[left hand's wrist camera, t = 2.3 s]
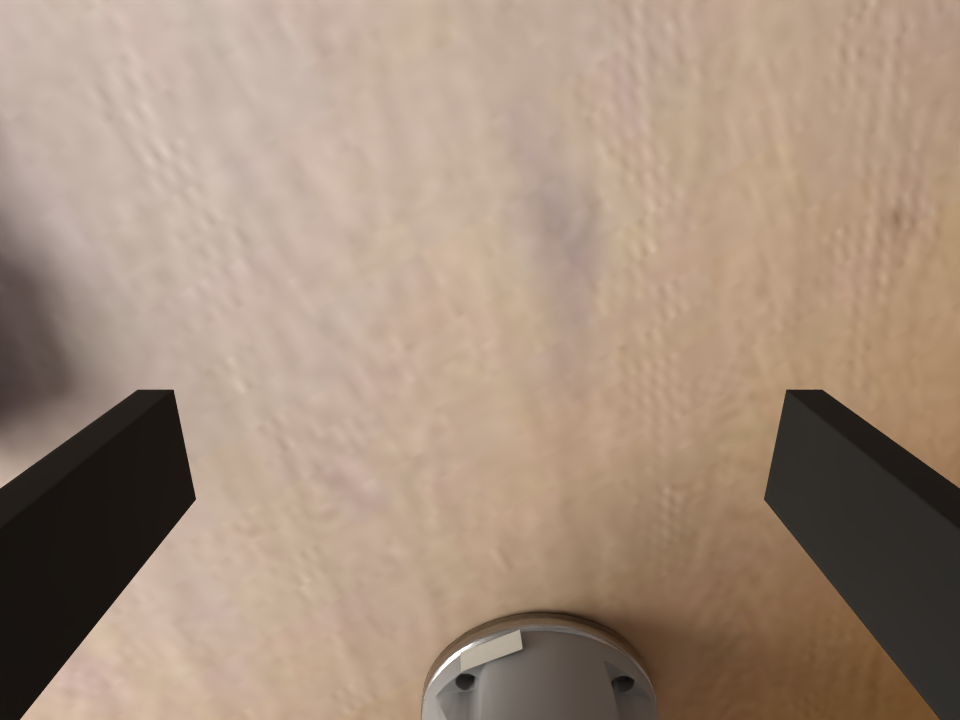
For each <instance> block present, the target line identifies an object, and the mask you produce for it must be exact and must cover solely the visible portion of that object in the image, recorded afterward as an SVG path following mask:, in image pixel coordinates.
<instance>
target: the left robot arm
mask: <svg viewBox="0 0 960 720" xmlns="http://www.w3.org/2000/svg"><path fill="white" fill-rule="evenodd" d="M195 500H196V497H195V492H194V487H193V482H192V478H191V473H190V468H189V463H188V458H187V453H186V448H185V443H184V438H183V433H182V429H181V424H180V419H179V414H178V409H177V404H176V399H175V394H174V390H137V391H135V392H134V393H133V394H131V395H130V396H128V397H127V398H126V399H124V400H123V401H121V402H120V403H119V404H117V405H116V406H114V407H113V408H112V409H110V410H109V411H108V412H106V413H105V414H103V415H102V416H101V417H99V418H98V419H96V420H95V421H94V422H92V423H91V424H89V425H88V426H87V427H85V428H84V429H83V430H81V431H80V432H78V433H77V434H76V435H74V436H73V437H71V438H70V439H69V440H67V441H66V442H64V443H63V444H62V445H60V446H59V447H57V448H56V449H55V450H53V451H52V452H51V453H49V454H48V455H46V456H45V457H44V458H42V459H41V460H39V461H38V462H37V463H35V464H34V465H32V466H31V467H30V468H28V469H27V470H25V471H24V472H23V473H21V474H20V475H19V476H17V477H16V478H14V479H13V480H12V481H10V482H9V483H7V484H6V485H5V486H3V487H2V488H0V720H20V719H21V718H22V716H23V715H24V714H25V713H26V711H27V710H28V709H29V708H30V706H31V705H32V704H33V703H34V701H35V700H36V699H37V698H38V696H39V695H40V694H41V693H42V691H43V690H44V689H45V688H46V686H47V685H48V684H49V683H50V681H51V680H52V679H53V678H54V676H55V675H56V674H57V673H58V671H59V670H60V669H61V668H62V666H63V665H64V664H65V663H66V661H67V660H68V659H69V658H70V656H71V655H72V654H73V653H74V651H75V650H76V649H77V648H78V646H79V645H80V644H81V643H82V641H83V640H84V639H85V638H86V636H87V635H88V634H89V633H90V631H91V630H92V629H93V627H94V626H95V625H96V624H97V622H98V621H99V620H100V619H101V617H102V616H103V615H104V614H105V612H106V611H107V610H108V609H109V607H110V606H111V605H112V604H113V602H114V601H115V600H116V599H117V597H118V596H119V595H120V594H121V592H122V591H123V590H124V589H125V587H126V586H127V585H128V584H129V582H130V581H131V580H132V579H133V577H134V576H135V575H136V574H137V572H138V571H139V570H140V569H141V567H142V566H143V565H144V564H145V562H146V561H147V560H148V559H149V557H150V556H151V555H152V554H153V552H154V551H155V550H156V549H157V547H158V546H159V545H160V544H161V542H162V541H163V540H164V539H165V537H166V536H167V535H168V534H169V532H170V531H171V530H172V529H173V527H174V526H175V525H176V524H177V522H178V521H179V520H180V519H181V517H182V516H183V515H184V514H185V512H186V511H187V510H188V509H189V507H190V506H191V505H192V504H193V502H194V501H195ZM764 500H765V501H766V502H767V504H768V505H769V506H770V507H771V509H772V510H773V511H774V512H775V514H776V515H777V516H778V517H779V519H780V520H781V521H782V522H783V524H784V525H785V526H786V527H787V529H788V530H789V531H790V532H791V534H792V535H793V536H794V537H795V539H796V540H797V541H798V542H799V544H800V545H801V546H802V547H803V549H804V550H805V551H806V552H807V554H808V555H809V556H810V557H811V559H812V560H813V561H814V562H815V564H816V565H817V566H818V567H819V569H820V570H821V571H822V572H823V574H824V575H825V576H826V577H827V579H828V580H829V581H830V582H831V584H832V585H833V586H834V587H835V589H836V590H837V591H838V592H839V594H840V595H841V596H842V597H843V599H844V600H845V601H846V602H847V604H848V605H849V606H850V607H851V609H852V610H853V611H854V612H855V614H856V615H857V616H858V617H859V619H860V620H861V621H862V622H863V624H864V625H865V626H866V627H867V629H868V630H869V631H870V633H871V634H872V635H873V636H874V638H875V639H876V640H877V641H878V643H879V644H880V645H881V646H882V648H883V649H884V650H885V651H886V653H887V654H888V655H889V656H890V658H891V659H892V660H893V661H894V663H895V664H896V665H897V666H898V668H899V669H900V670H901V671H902V673H903V674H904V675H905V676H906V678H907V679H908V680H909V681H910V683H911V684H912V685H913V686H914V688H915V689H916V690H917V691H918V693H919V694H920V695H921V696H922V698H923V699H924V700H925V701H926V703H927V704H928V705H929V706H930V708H931V709H932V710H933V711H934V713H935V714H936V715H937V716H938V718H939V719H940V720H960V488H958V487H957V486H955V485H954V484H953V483H951V482H950V481H948V480H947V479H946V478H944V477H943V476H941V475H940V474H939V473H937V472H936V471H935V470H933V469H932V468H930V467H929V466H928V465H926V464H925V463H923V462H922V461H921V460H919V459H918V458H916V457H915V456H914V455H912V454H911V453H909V452H908V451H907V450H905V449H904V448H903V447H901V446H900V445H898V444H897V443H896V442H894V441H893V440H891V439H890V438H889V437H887V436H886V435H884V434H883V433H882V432H880V431H879V430H877V429H876V428H875V427H873V426H872V425H871V424H869V423H868V422H866V421H865V420H864V419H862V418H861V417H859V416H858V415H857V414H855V413H854V412H852V411H851V410H850V409H848V408H847V407H846V406H844V405H843V404H841V403H840V402H839V401H837V400H836V399H834V398H833V397H832V396H830V395H829V394H827V393H826V392H825V391H823V390H786V394H785V399H784V404H783V409H782V414H781V419H780V424H779V429H778V433H777V438H776V443H775V448H774V453H773V458H772V463H771V468H770V473H769V478H768V482H767V487H766V492H765V497H764ZM421 720H659V715H658V708H657V700H656V696H655V692H654V689H653V686H652V683H651V679H650V676H649V673H648V670H647V668H646V666H645V664H644V662H643V661H642V659H641V657H640V656H639V655H638V653H637V652H636V651H635V650H634V648H633V647H632V646H630V645H629V644H628V643H627V642H626V641H625V640H624V639H622V638H621V637H620V636H619V635H617V634H615V633H614V632H612V631H611V630H609V629H607V628H605V627H603V626H601V625H599V624H596V623H594V622H591V621H588V620H585V619H581V618H578V617H573V616H568V615H561V614H551V613H530V614H520V615H514V616H508V617H504V618H500V619H496V620H493V621H490V622H488V623H485V624H482V625H480V626H478V627H476V628H474V629H472V630H470V631H468V632H466V633H465V634H463V635H462V636H460V637H459V638H457V639H456V640H455V641H453V642H452V643H451V644H450V645H448V646H447V648H446V649H445V650H444V651H443V652H442V653H441V654H440V655H439V656H438V658H437V659H436V660H435V662H434V663H433V665H432V667H431V668H430V671H429V673H428V675H427V678H426V681H425V684H424V690H423V698H422V708H421Z"/></svg>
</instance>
